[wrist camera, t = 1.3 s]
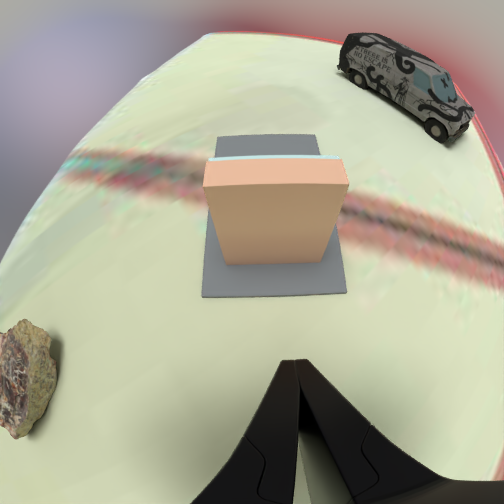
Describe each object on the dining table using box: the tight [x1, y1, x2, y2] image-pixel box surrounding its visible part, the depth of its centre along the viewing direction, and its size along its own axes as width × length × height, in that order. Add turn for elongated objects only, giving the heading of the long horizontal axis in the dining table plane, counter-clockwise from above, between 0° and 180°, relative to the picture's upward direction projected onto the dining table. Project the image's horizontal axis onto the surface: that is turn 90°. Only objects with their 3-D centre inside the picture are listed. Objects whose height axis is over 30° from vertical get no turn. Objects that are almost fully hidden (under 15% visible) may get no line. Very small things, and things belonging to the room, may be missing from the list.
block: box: [203, 155, 349, 265], centre depth 19 cm, size 2×8×10 cm, turn 91°
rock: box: [0, 319, 57, 439], centre depth 15 cm, size 7×11×10 cm
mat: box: [202, 134, 347, 298], centre depth 26 cm, size 20×12×1 cm, turn 0°
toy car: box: [337, 33, 475, 143], centre depth 32 cm, size 11×25×10 cm, turn 35°
